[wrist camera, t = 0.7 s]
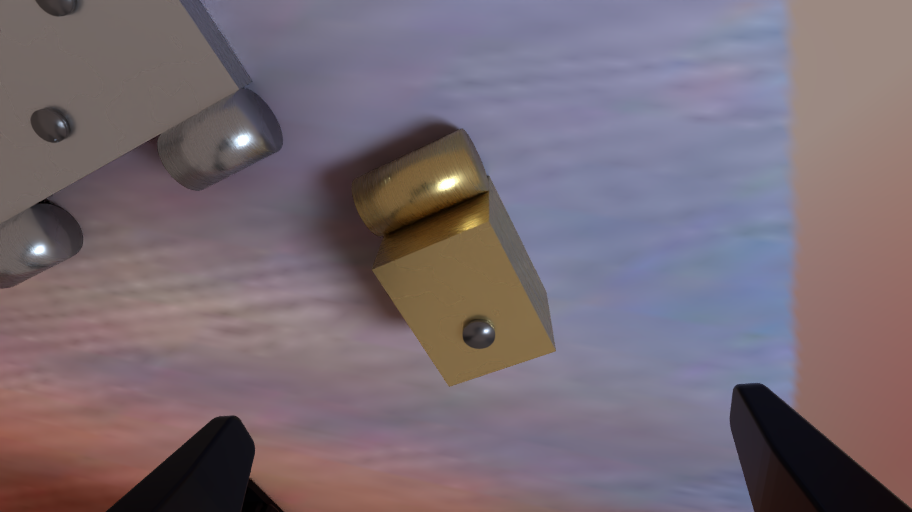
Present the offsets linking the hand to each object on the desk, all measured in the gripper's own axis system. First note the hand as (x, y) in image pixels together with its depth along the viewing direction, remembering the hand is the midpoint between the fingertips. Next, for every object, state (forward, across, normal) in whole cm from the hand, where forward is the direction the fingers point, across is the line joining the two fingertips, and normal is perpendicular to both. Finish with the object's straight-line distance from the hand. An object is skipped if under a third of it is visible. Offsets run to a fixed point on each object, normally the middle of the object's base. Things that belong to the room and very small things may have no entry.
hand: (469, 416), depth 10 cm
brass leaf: (+13, +2, +4) cm, 13 cm away
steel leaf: (+12, +16, -4) cm, 20 cm away
